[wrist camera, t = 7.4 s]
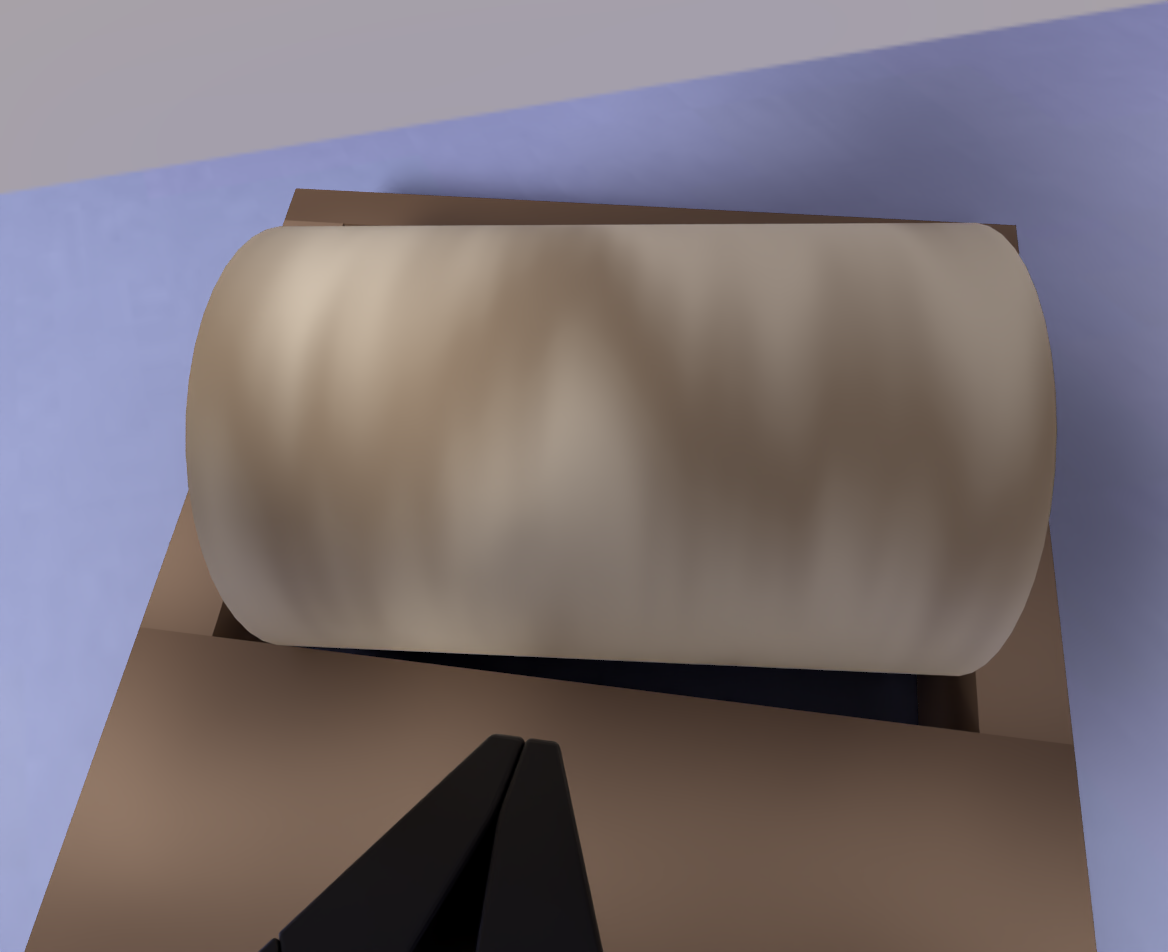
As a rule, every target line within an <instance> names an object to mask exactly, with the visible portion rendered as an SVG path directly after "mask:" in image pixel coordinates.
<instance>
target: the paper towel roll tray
mask: <svg viewBox="0 0 1168 952" xmlns="http://www.w3.org/2000/svg"><path fill="white" fill-rule="evenodd" d="M848 223H960V222H940V221H921V220H901V219H882V218H862V217H843V216H823V215H804V214H784V213H765V212H745V211H726V210H706V209H686V208H667V207H647V206H628V205H608V204H589V203H569V202H550V201H530V200H511V199H491V198H472V197H452V196H433V195H413V194H393V193H374V192H354V191H335V190H315V189H296V190H295V192H294V195H293V198H292V201H291V204H290V206H289V209H288V212H287V215H286V218H285V221H284V223H283V226H458V225H653V224H848ZM983 225H987V226H990V227H991V228H993V229H994V230H996V231H998V232H999V233H1001V234H1002V235H1003V236H1004V237H1005V238H1006V239H1007V240H1008V241H1009V242H1010V244H1011V245H1012V246H1013V247H1014V248H1015V250H1016V251H1017V253H1018V254H1019V249H1018V240H1017V231H1016V225H999V224H983ZM916 675H917V701H918V725H912V724H904V723H896V722H888V721H880V720H872V719H865V718H857V717H849V716H841V715H833V714H825V713H817V712H809V711H801V710H793V709H785V708H777V707H769V706H761V705H753V704H746V703H738V702H730V701H722V700H714V699H706V698H698V697H690V696H682V695H674V694H666V693H658V692H650V691H642V690H634V689H626V688H619V687H611V686H603V685H595V684H587V683H579V682H571V681H563V680H555V679H547V678H539V677H531V676H523V675H515V674H507V673H500V672H492V671H484V670H476V669H468V668H460V667H452V666H444V665H436V664H428V663H420V662H412V661H404V660H396V659H388V658H381V657H373V656H365V655H357V654H349V653H341V652H333V651H325V650H317V649H309V648H301V647H293V646H285V645H275V644H271V643H268V642H265V641H262V640H261V639H259V638H258V637H256V636H255V635H253V634H251V633H250V632H249V631H248V630H247V629H246V628H245V627H244V626H243V625H242V624H241V623H240V622H239V621H237V620H236V618H235V617H234V616H233V614H232V613H231V611H230V610H229V608H228V607H227V606H226V604H225V603H224V601H223V600H222V598H221V596H220V594H219V592H218V590H217V588H216V586H215V584H214V582H213V580H212V578H211V575H210V572H209V570H208V567H207V564H206V562H205V559H204V556H203V553H202V550H201V547H200V543H199V539H198V535H197V531H196V527H195V523H194V519H193V512H192V506H191V500H190V494H189V490H188V493H187V496H186V499H185V502H184V505H183V507H182V510H181V513H180V516H179V519H178V521H177V524H176V527H175V530H174V533H173V535H172V538H171V541H170V544H169V547H168V549H167V552H166V555H165V558H164V561H163V564H162V566H161V569H160V572H159V575H158V578H157V580H156V583H155V586H154V589H153V592H152V594H151V597H150V600H149V603H148V606H147V609H146V611H145V614H144V617H143V620H142V623H141V625H140V628H139V631H138V634H137V637H136V639H135V642H134V645H133V648H132V651H131V654H130V656H129V659H128V662H127V665H126V668H125V670H124V673H123V676H122V679H121V682H120V684H119V687H118V690H117V693H116V696H115V699H114V701H113V704H112V707H111V710H110V713H109V715H108V718H107V721H106V724H105V727H104V729H103V732H102V735H101V738H100V741H99V743H98V746H97V749H96V752H95V755H94V758H93V760H92V763H91V766H90V769H89V772H88V774H87V777H86V780H85V783H84V786H83V788H82V791H81V794H80V797H79V800H78V803H77V805H76V808H75V811H74V814H73V817H72V819H71V822H70V825H69V828H68V831H67V833H66V836H65V839H64V842H63V845H62V848H61V850H60V853H59V856H58V859H57V862H56V864H55V867H54V870H53V873H52V876H51V878H50V881H49V884H48V887H47V890H46V892H45V895H44V898H43V901H42V904H41V907H40V909H39V912H38V915H37V918H36V921H35V923H34V926H33V929H32V932H31V935H30V937H29V940H28V943H27V946H26V949H25V952H258V951H259V950H260V949H261V948H262V947H263V946H265V945H266V944H267V943H268V942H269V941H270V940H271V939H272V938H277V939H278V940H279V932H280V931H281V930H282V929H283V928H284V927H285V926H286V925H287V924H289V923H290V922H291V921H292V920H293V919H294V918H295V917H296V916H297V915H298V914H299V913H300V912H301V911H302V910H304V909H305V908H306V907H307V906H308V905H309V904H310V903H311V902H312V901H313V900H314V899H315V898H316V897H317V896H319V895H320V894H321V893H322V892H323V891H324V890H325V889H326V888H327V887H328V886H329V885H330V884H331V883H332V882H334V881H335V880H336V879H337V878H338V877H339V876H340V875H341V874H342V873H343V872H344V871H345V870H346V869H347V868H349V867H350V866H351V865H352V864H353V863H354V862H355V861H356V860H357V859H358V858H359V857H360V856H361V855H362V854H364V853H365V852H366V851H367V850H368V849H369V848H370V847H371V846H372V845H373V844H374V843H375V842H376V841H377V840H379V839H380V838H381V837H382V836H383V835H384V834H385V833H386V832H387V831H388V830H389V829H390V828H391V827H392V826H394V825H395V824H396V823H397V822H398V821H399V820H400V819H401V818H402V817H403V816H404V815H405V814H406V813H407V812H409V811H410V810H411V809H412V808H413V807H414V806H415V805H416V804H417V803H418V802H419V801H420V800H421V799H422V798H424V797H425V796H426V795H427V794H428V793H429V792H430V791H431V790H432V789H433V788H434V787H435V786H436V785H437V784H439V783H440V782H441V781H442V780H443V779H444V778H445V777H446V776H447V775H448V774H449V773H450V772H451V771H452V770H454V769H455V768H456V767H457V766H458V765H459V764H460V763H461V762H462V761H463V760H464V759H465V758H466V757H467V756H469V755H470V754H471V753H472V752H473V751H474V750H475V749H476V748H477V747H478V746H479V745H480V744H481V743H482V742H484V741H485V740H486V739H487V738H488V737H489V736H490V735H493V734H504V735H511V736H519V737H522V738H523V739H524V741H525V742H526V741H527V740H528V739H530V738H534V739H541V740H548V741H555V742H557V743H558V744H559V746H560V749H561V753H562V758H563V763H564V768H565V772H566V777H567V782H568V787H569V791H570V796H571V801H572V806H573V810H574V815H575V820H576V824H577V829H578V834H579V839H580V843H581V848H582V853H583V858H584V862H585V867H586V872H587V877H588V881H589V886H590V891H591V896H592V900H593V905H594V910H595V915H596V919H597V924H598V929H599V934H600V938H601V943H602V948H603V952H1097V949H1096V940H1095V931H1094V922H1093V913H1092V904H1091V895H1090V886H1089V877H1088V868H1087V859H1086V850H1085V841H1084V832H1083V823H1082V814H1081V805H1080V796H1079V787H1078V779H1077V770H1076V761H1075V752H1074V743H1073V734H1072V725H1071V716H1070V707H1069V698H1068V689H1067V680H1066V671H1065V662H1064V653H1063V644H1062V635H1061V626H1060V617H1059V608H1058V599H1057V590H1056V581H1055V572H1054V563H1053V554H1052V545H1051V536H1050V527H1049V522H1048V527H1047V532H1046V538H1045V543H1044V548H1043V551H1042V555H1041V559H1040V562H1039V566H1038V570H1037V573H1036V577H1035V580H1034V583H1033V586H1032V588H1031V591H1030V594H1029V596H1028V599H1027V602H1026V604H1025V607H1024V609H1023V611H1022V613H1021V615H1020V617H1019V619H1018V621H1017V623H1016V625H1015V627H1014V629H1013V631H1012V633H1011V634H1010V636H1009V637H1008V639H1007V640H1006V642H1005V643H1004V644H1003V646H1002V647H1001V649H1000V650H999V652H998V653H997V654H996V655H995V656H994V657H993V658H992V659H991V660H990V661H989V662H988V663H987V664H986V665H984V666H982V667H981V668H979V669H978V670H976V671H974V672H973V673H969V674H966V675H962V676H946V675H924V674H916Z"/></svg>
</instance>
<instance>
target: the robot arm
mask: <svg viewBox="0 0 1168 952" xmlns="http://www.w3.org/2000/svg"><path fill="white" fill-rule="evenodd" d="M258 952H603V948H602V943H601V938H600V934H599V929H598V924H597V919H596V915H595V910H594V905H593V900H592V896H591V891H590V886H589V881H588V877H587V872H586V867H585V862H584V858H583V853H582V848H581V843H580V839H579V834H578V829H577V824H576V820H575V815H574V810H573V806H572V801H571V796H570V791H569V787H568V782H567V777H566V772H565V768H564V763H563V758H562V753H561V749H560V746H559V744H558V743H557V742H555V741H548V740H541V739H534V738H530V739H528V740H527V741H526V742H525V741H524V739H523V738H522V737H519V736H511V735H504V734H493V735H490V736H489V737H488V738H487V739H486V740H485V741H484V742H482V743H481V744H480V745H479V746H478V747H477V748H476V749H475V750H474V751H473V752H472V753H471V754H470V755H469V756H467V757H466V758H465V759H464V760H463V761H462V762H461V763H460V764H459V765H458V766H457V767H456V768H455V769H454V770H452V771H451V772H450V773H449V774H448V775H447V776H446V777H445V778H444V779H443V780H442V781H441V782H440V783H439V784H437V785H436V786H435V787H434V788H433V789H432V790H431V791H430V792H429V793H428V794H427V795H426V796H425V797H424V798H422V799H421V800H420V801H419V802H418V803H417V804H416V805H415V806H414V807H413V808H412V809H411V810H410V811H409V812H407V813H406V814H405V815H404V816H403V817H402V818H401V819H400V820H399V821H398V822H397V823H396V824H395V825H394V826H392V827H391V828H390V829H389V830H388V831H387V832H386V833H385V834H384V835H383V836H382V837H381V838H380V839H379V840H377V841H376V842H375V843H374V844H373V845H372V846H371V847H370V848H369V849H368V850H367V851H366V852H365V853H364V854H362V855H361V856H360V857H359V858H358V859H357V860H356V861H355V862H354V863H353V864H352V865H351V866H350V867H349V868H347V869H346V870H345V871H344V872H343V873H342V874H341V875H340V876H339V877H338V878H337V879H336V880H335V881H334V882H332V883H331V884H330V885H329V886H328V887H327V888H326V889H325V890H324V891H323V892H322V893H321V894H320V895H319V896H317V897H316V898H315V899H314V900H313V901H312V902H311V903H310V904H309V905H308V906H307V907H306V908H305V909H304V910H302V911H301V912H300V913H299V914H298V915H297V916H296V917H295V918H294V919H293V920H292V921H291V922H290V923H289V924H287V925H286V926H285V927H284V928H283V929H282V930H281V931H280V932H279V940H278V939H277V938H272V939H271V940H270V941H269V942H268V943H267V944H266V945H265V946H263V947H262V948H261V949H260V950H259V951H258Z"/></svg>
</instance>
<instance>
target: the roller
mask: <svg viewBox="0 0 1168 952" xmlns="http://www.w3.org/2000/svg"><path fill="white" fill-rule="evenodd" d="M1056 437H1057V422H1056V391H1055V382H1054V372H1053V363H1052V354H1051V349H1050V344H1049V338H1048V333H1047V328H1046V323H1045V319H1044V315H1043V312H1042V308H1041V305H1040V302H1039V298H1038V295H1037V291H1036V289H1035V287H1034V284H1033V282H1032V280H1031V277H1030V275H1029V273H1028V270H1027V268H1026V266H1025V264H1024V263H1023V261H1022V259H1021V258H1020V256H1019V254H1018V253H1017V251H1016V250H1015V248H1014V247H1013V246H1012V245H1011V244H1010V242H1009V241H1008V240H1007V239H1006V238H1005V237H1004V236H1003V235H1002V234H1001V233H999V232H998V231H996V230H994V229H993V228H991V227H990V226H987V225H983V224H979V223H848V224H653V225H458V226H280V227H275V228H271V229H267V230H265V231H263V232H261V233H259V234H257V235H255V236H254V237H252V238H251V239H250V240H249V241H248V242H246V243H245V244H244V245H243V246H242V247H241V248H240V249H239V250H238V251H237V252H236V254H235V255H234V256H233V258H232V259H231V260H230V262H229V263H228V264H227V266H226V267H225V269H224V271H223V272H222V274H221V276H220V278H219V280H218V282H217V283H216V285H215V287H214V289H213V291H212V294H211V297H210V299H209V302H208V304H207V307H206V309H205V312H204V315H203V318H202V321H201V325H200V329H199V332H198V336H197V340H196V343H195V348H194V353H193V359H192V365H191V371H190V376H189V385H188V396H187V407H186V463H187V476H188V488H189V494H190V500H191V506H192V512H193V519H194V523H195V527H196V531H197V535H198V539H199V543H200V547H201V550H202V553H203V556H204V559H205V562H206V564H207V567H208V570H209V572H210V575H211V578H212V580H213V582H214V584H215V586H216V588H217V590H218V592H219V594H220V596H221V598H222V600H223V601H224V603H225V604H226V606H227V607H228V608H229V610H230V611H231V613H232V614H233V616H234V617H235V618H236V620H237V621H239V622H240V623H241V624H242V625H243V626H244V627H245V628H246V629H247V630H248V631H249V632H250V633H251V634H253V635H255V636H256V637H258V638H259V639H261V640H262V641H265V642H268V643H271V644H275V645H285V646H307V647H329V648H351V649H373V650H395V651H417V652H439V653H461V654H483V655H505V656H527V657H549V658H571V659H593V660H615V661H637V662H659V663H681V664H703V665H725V666H747V667H770V668H792V669H814V670H836V671H858V672H880V673H902V674H924V675H946V676H962V675H966V674H969V673H973V672H974V671H976V670H978V669H979V668H981V667H982V666H984V665H986V664H987V663H988V662H989V661H990V660H991V659H992V658H993V657H994V656H995V655H996V654H997V653H998V652H999V650H1000V649H1001V647H1002V646H1003V644H1004V643H1005V642H1006V640H1007V639H1008V637H1009V636H1010V634H1011V633H1012V631H1013V629H1014V627H1015V625H1016V623H1017V621H1018V619H1019V617H1020V615H1021V613H1022V611H1023V609H1024V607H1025V604H1026V602H1027V599H1028V596H1029V594H1030V591H1031V588H1032V586H1033V583H1034V580H1035V577H1036V573H1037V570H1038V566H1039V562H1040V559H1041V555H1042V551H1043V548H1044V543H1045V538H1046V532H1047V527H1048V522H1049V516H1050V511H1051V503H1052V494H1053V485H1054V476H1055V462H1056Z"/></svg>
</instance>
